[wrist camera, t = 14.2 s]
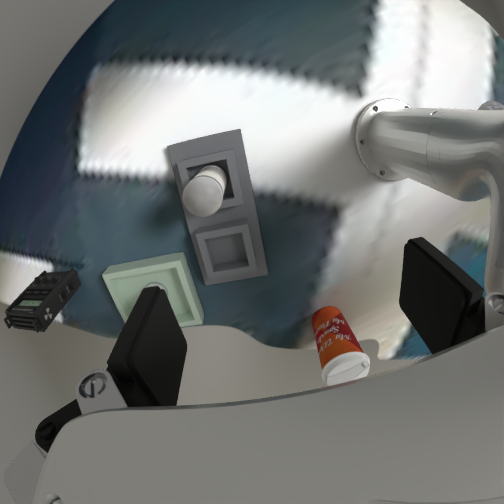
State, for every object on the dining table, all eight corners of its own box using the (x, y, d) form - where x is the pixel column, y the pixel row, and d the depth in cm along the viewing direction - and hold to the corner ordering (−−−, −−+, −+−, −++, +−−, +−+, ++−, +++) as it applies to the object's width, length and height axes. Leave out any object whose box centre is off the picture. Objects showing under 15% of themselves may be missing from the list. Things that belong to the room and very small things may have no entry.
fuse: (224, 161, 36) (217, 173, 27) (230, 190, 38) (226, 212, 29) (194, 168, 36) (178, 182, 27) (201, 196, 38) (188, 220, 29)
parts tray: (183, 251, 42) (180, 260, 40) (204, 313, 48) (202, 324, 45) (108, 266, 43) (101, 275, 40) (134, 321, 48) (129, 332, 46)
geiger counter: (77, 263, 43) (33, 313, 29) (85, 285, 45) (46, 338, 31) (39, 266, 43) (-4, 310, 29) (47, 286, 45) (8, 332, 31)
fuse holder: (240, 128, 35) (240, 128, 32) (267, 271, 44) (269, 283, 41) (169, 145, 36) (162, 147, 32) (206, 282, 45) (203, 294, 42)
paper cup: (331, 293, 47) (357, 350, 34) (353, 316, 49) (380, 371, 37) (297, 320, 49) (312, 380, 36) (321, 340, 51) (338, 397, 39)
